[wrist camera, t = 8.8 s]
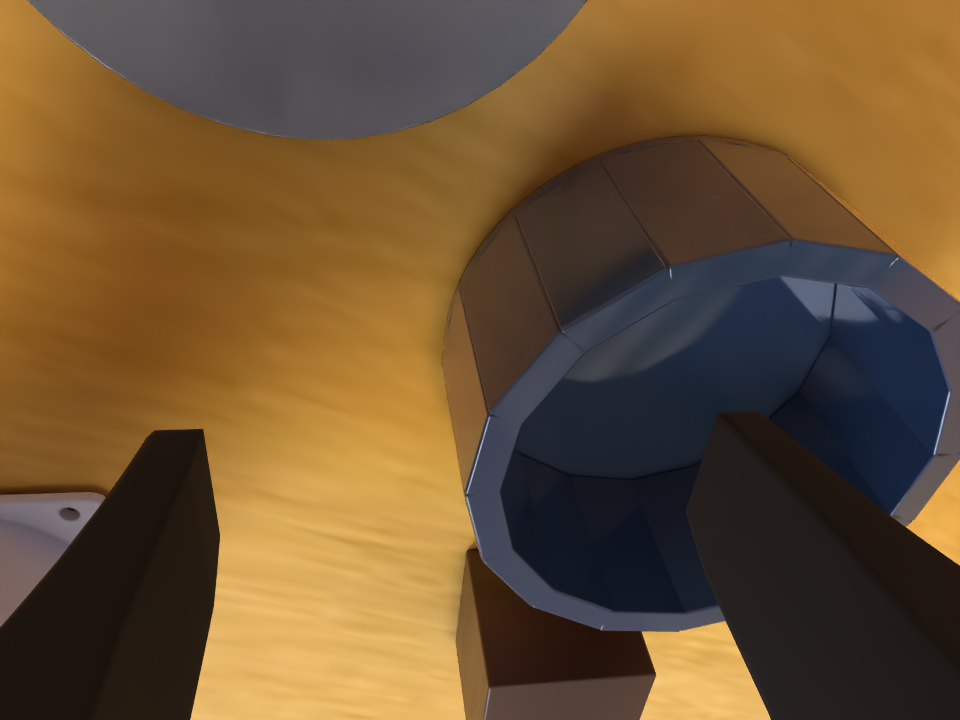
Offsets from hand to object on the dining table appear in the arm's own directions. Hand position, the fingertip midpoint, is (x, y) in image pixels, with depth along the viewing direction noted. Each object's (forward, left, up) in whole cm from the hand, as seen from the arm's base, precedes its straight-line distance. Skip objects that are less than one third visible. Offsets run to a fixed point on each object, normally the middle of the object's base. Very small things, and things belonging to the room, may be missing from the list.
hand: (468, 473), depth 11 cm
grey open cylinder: (+7, -4, -9) cm, 12 cm away
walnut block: (+5, -15, -9) cm, 18 cm away
